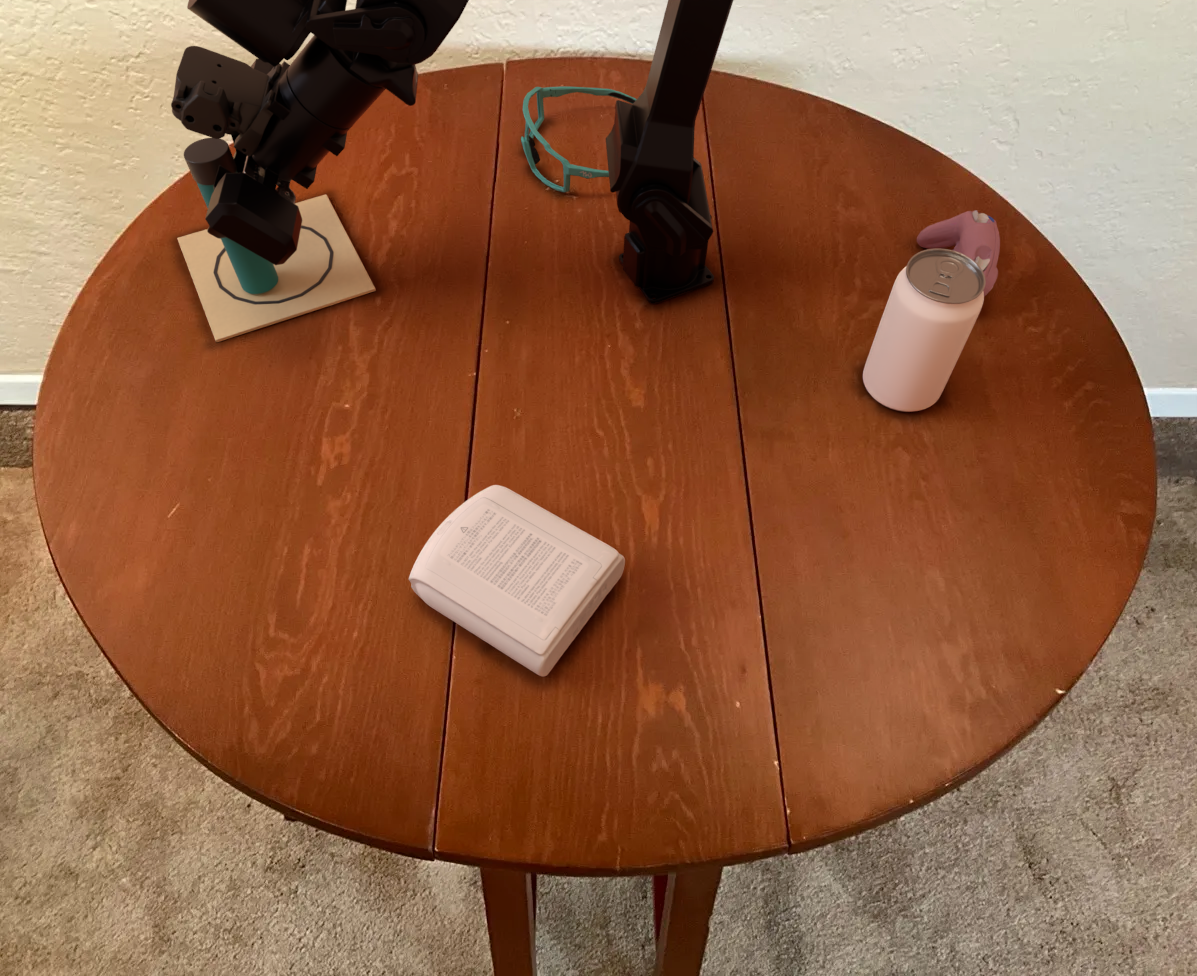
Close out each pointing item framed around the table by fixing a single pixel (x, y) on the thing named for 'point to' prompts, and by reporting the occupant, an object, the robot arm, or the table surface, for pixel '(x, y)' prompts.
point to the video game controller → (968, 240)
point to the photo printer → (515, 575)
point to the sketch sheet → (304, 280)
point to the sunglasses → (532, 152)
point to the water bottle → (203, 167)
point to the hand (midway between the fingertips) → (216, 219)
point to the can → (924, 329)
